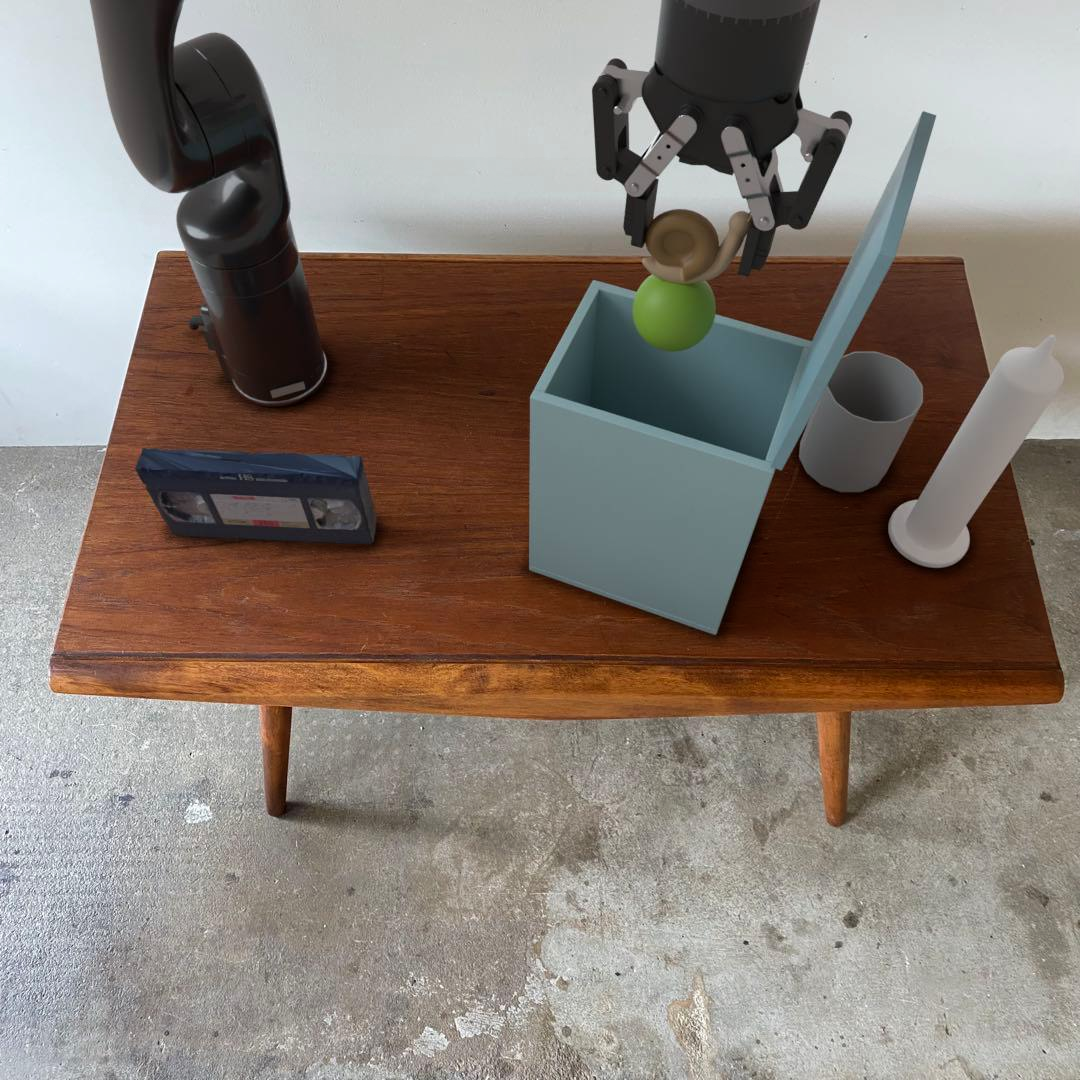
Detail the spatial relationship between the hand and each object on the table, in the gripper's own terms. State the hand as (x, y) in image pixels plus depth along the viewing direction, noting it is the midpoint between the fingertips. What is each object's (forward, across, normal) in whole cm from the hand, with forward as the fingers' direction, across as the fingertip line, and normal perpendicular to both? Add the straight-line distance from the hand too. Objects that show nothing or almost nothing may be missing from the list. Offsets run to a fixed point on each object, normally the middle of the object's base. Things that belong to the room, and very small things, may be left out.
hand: (693, 252), depth 59 cm
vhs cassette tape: (+33, +31, +11) cm, 46 cm away
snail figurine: (+8, 0, 0) cm, 8 cm away
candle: (+33, -24, -10) cm, 42 cm away
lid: (0, -9, 0) cm, 9 cm away
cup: (+33, -15, -16) cm, 40 cm away
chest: (+33, 0, 0) cm, 33 cm away
